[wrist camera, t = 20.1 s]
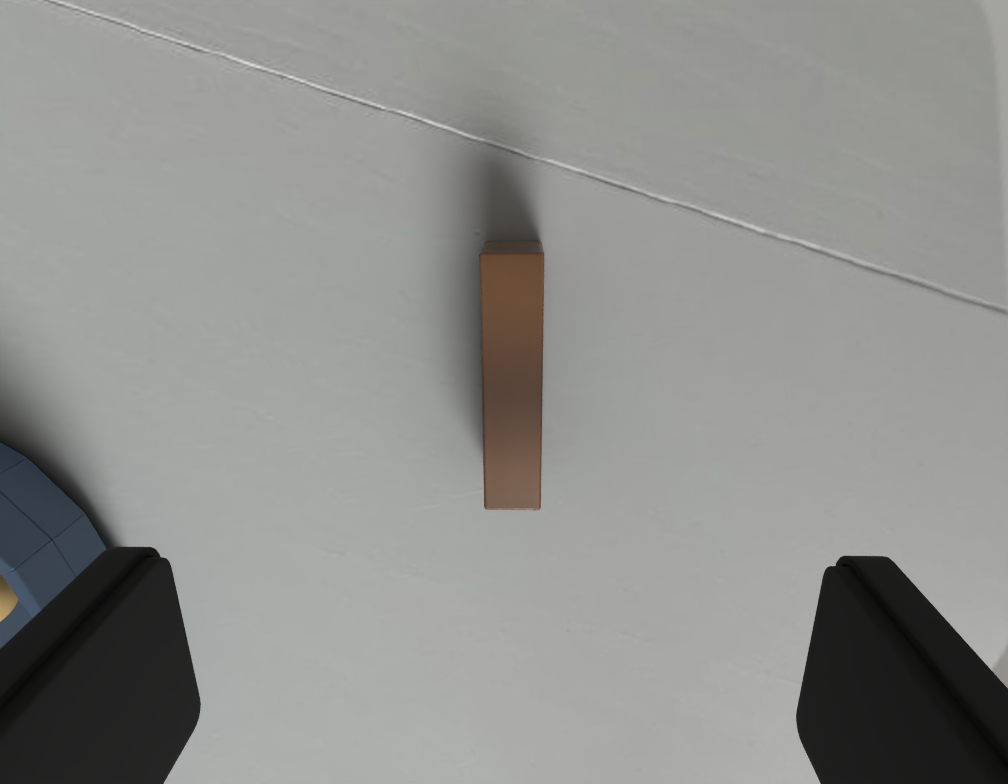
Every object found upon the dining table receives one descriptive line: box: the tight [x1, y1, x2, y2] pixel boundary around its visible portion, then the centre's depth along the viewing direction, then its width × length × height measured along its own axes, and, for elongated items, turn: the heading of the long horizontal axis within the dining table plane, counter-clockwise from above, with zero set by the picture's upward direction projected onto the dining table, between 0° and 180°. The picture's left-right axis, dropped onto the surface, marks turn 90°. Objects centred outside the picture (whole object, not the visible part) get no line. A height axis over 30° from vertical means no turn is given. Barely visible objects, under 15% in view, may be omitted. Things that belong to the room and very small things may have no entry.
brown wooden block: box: [479, 242, 544, 510], centre depth 23 cm, size 9×2×3 cm, turn 0°
